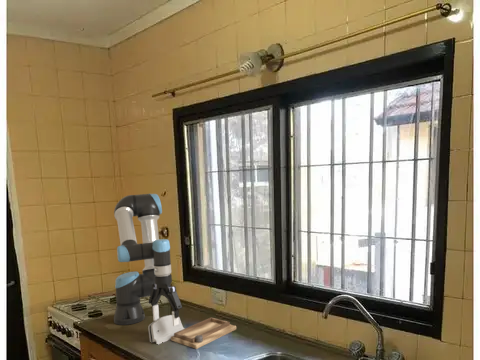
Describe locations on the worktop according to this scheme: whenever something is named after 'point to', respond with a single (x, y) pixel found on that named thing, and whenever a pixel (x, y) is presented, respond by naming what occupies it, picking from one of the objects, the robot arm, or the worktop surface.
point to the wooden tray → (203, 332)
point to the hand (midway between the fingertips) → (165, 322)
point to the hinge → (163, 329)
